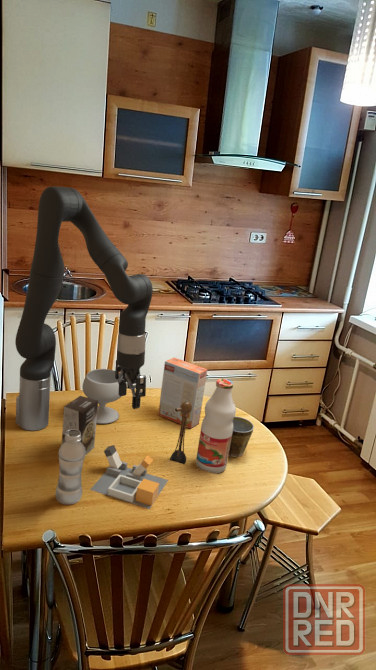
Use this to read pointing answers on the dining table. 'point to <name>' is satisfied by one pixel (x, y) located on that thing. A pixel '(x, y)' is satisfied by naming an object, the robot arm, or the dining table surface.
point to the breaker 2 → (142, 466)
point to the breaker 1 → (113, 457)
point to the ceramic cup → (240, 436)
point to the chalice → (102, 393)
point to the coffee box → (81, 420)
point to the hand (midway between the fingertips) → (129, 401)
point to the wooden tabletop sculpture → (181, 434)
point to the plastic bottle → (70, 468)
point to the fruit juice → (216, 429)
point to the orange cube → (147, 492)
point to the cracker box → (182, 390)
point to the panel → (125, 483)
